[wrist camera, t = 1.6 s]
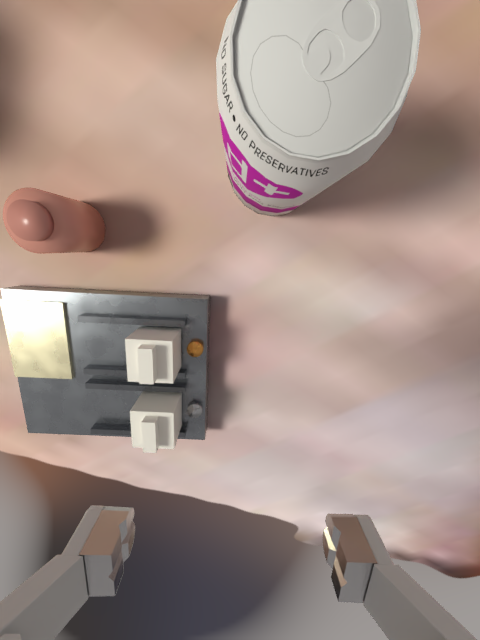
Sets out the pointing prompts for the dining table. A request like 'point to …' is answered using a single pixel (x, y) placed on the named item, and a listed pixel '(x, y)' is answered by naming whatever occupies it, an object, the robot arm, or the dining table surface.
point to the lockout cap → (52, 222)
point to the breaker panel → (100, 356)
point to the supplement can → (310, 92)
